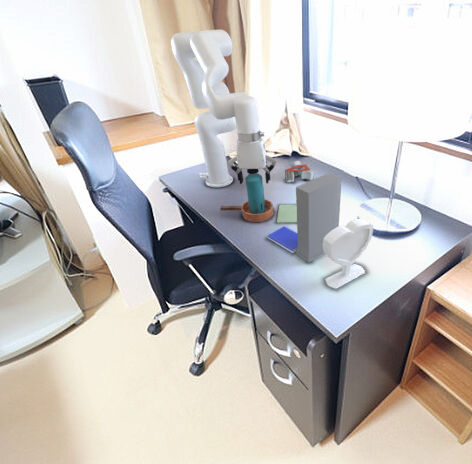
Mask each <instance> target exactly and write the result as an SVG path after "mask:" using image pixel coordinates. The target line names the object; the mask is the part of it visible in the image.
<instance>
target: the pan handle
mask: <svg viewBox="0 0 472 464" xmlns="http://www.w3.org/2000/svg"><path fill="white" fill-rule="evenodd" d="M241 207H242V205H220V211H241Z"/></svg>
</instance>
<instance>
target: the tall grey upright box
mask: <svg viewBox="0 0 472 464" xmlns="http://www.w3.org/2000/svg"><path fill="white" fill-rule="evenodd" d="M341 194H342V177H340V176H337V175H335V174H333V173H330V172H327V173H325V174H323V175H321V176H318V177H316V178H313V179H312V180H308V181H307V182H304V183H302V184H300V185H298V186H296V187H295V199H296V201H295V202H296V205H297V223H296V233H297V235H298V251H296V252H295V253H296V255H297V256H298V257H300V258H301V259H302V260H304V261H305V262H307V263H311V262H312V261H314V260H316V259H317V258H319V257H320V256H322V255H324V254H325V253H324V251H323V239H324V237H325V236H326V235H327V234H328V233H329V232H330V231H332V230H333V229H335V228H336V227H339V226H340V211H341Z"/></svg>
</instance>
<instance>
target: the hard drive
mask: <svg viewBox="0 0 472 464" xmlns="http://www.w3.org/2000/svg"><path fill="white" fill-rule="evenodd" d="M267 239H268V240H269V241H271V242H273V243H275V244H276V245H277V246H280V247H282V248H283V249H285V250H287V251H288V252H290V253H291V254H295V253H296V252H297V251H298V235H297V231H294V230H292V229H290V228H288V227H286V226H282V227H280V228H278V229H277V230H275V231H272V232H271V233H269V234H268V235H267Z"/></svg>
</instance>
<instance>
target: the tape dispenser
mask: <svg viewBox="0 0 472 464" xmlns="http://www.w3.org/2000/svg"><path fill="white" fill-rule="evenodd" d="M292 164H293V166H291V167H288V168H286V169H285V170H284V177H285V180H286V183H294V182H295V177H299V176H300V179H301V180H305V181H311V180H314V172H315V171H314V170H312V169H311V167H309V166H308V165H307V164H302V161H300V160H295V161H294V162H293V163H292Z"/></svg>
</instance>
